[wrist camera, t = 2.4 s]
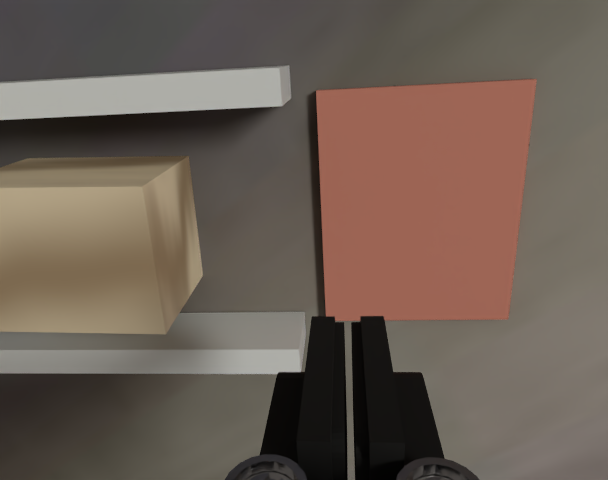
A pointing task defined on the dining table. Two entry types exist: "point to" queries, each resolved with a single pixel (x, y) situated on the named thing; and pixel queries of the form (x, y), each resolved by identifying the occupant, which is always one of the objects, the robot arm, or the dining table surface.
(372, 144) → the pad
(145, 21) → the dining table surface
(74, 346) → the channel
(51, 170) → the maple block
